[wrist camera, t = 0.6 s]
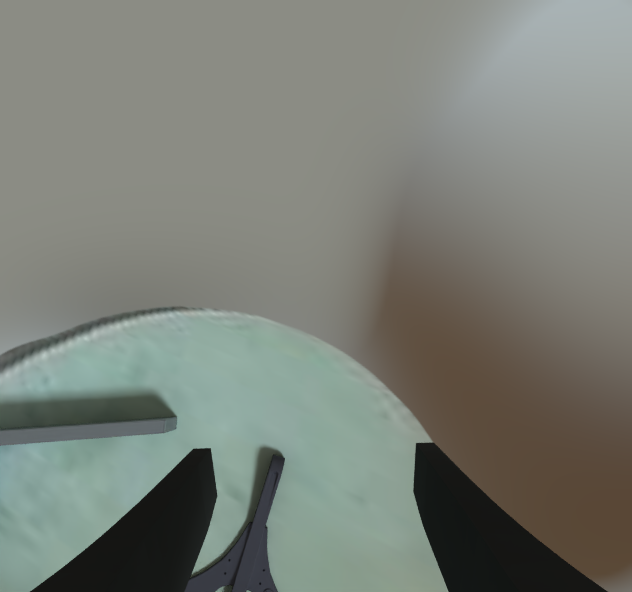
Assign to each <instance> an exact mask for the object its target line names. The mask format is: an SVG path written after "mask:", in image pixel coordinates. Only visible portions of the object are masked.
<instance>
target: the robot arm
mask: <svg viewBox="0 0 632 592" xmlns="http://www.w3.org/2000/svg"><path fill="white" fill-rule="evenodd" d="M413 491H414V495H415V499H416V502H417V506H418V510H419V513H420V517H421V520H422V524H423V527H424V529H425V532H426V535H427V537H428V540H429V542H430V545H431V548H432V550H433V553H434V555H435V558H436V561H437V563H438V566H439V568H440V571H441V573H442V576H443V578H444V581H445V584H446V586H447V589H448V591H449V592H607V591H606V590H604V589H603V588H602V587H600V586H599V585H597V584H596V583H595V582H593V581H592V580H590V579H589V578H587V577H586V576H585V575H583V574H582V573H580V572H579V571H578V570H576V569H575V568H574V567H572V566H571V565H570V564H568V563H567V562H566V561H564V560H563V559H562V558H560V557H559V556H558V555H557V554H556V553H554V552H553V551H552V550H550V549H549V548H548V547H547V546H545V545H544V544H543V543H542V542H540V541H539V540H537V539H536V538H535V537H534V536H533V535H532V534H530V533H529V532H528V531H527V530H525V529H524V528H523V527H522V526H521V525H520V524H518V523H517V522H516V521H515V520H514V519H513V518H512V517H510V516H509V515H508V514H507V513H506V512H505V511H504V510H502V509H501V508H500V507H499V506H498V505H497V504H496V503H495V502H493V501H492V500H491V499H490V498H489V497H488V496H487V495H486V494H485V493H484V492H483V491H482V490H481V489H480V488H479V487H478V486H477V485H475V483H473V482H472V481H471V480H470V479H469V478H468V477H467V476H466V475H465V474H464V473H463V472H462V471H461V470H460V469H459V468H458V467H457V466H456V465H455V464H454V463H453V462H452V461H451V460H450V459H449V458H448V457H447V455H445V453H443V452H442V451H441V450H440V448H439V447H438V446H437V445H436V444H435V443H416V453H415V471H414V490H413ZM216 499H217V490H216V483H215V476H214V469H213V461H212V454H211V448H204V449H193V450H192V451H191V452H190V453H189V454H188V455H187V456H186V457H185V458H184V459H183V460H182V461H181V462H180V463H179V464H178V465H177V466H176V467H175V468H174V469H173V470H172V471H171V472H170V473H169V474H167V475H166V476H165V477H164V478H163V479H162V480H161V481H160V482H159V483H158V484H157V485H156V486H155V487H154V488H153V489H152V490H151V491H150V492H149V493H148V494H147V495H146V496H145V497H144V498H143V499H142V500H141V501H140V502H139V503H138V504H137V505H135V506H134V507H133V508H132V509H131V510H130V511H129V512H128V513H127V514H125V515H124V516H123V517H122V518H121V519H120V520H119V521H118V522H117V523H116V524H114V525H113V526H112V527H111V528H110V529H109V530H108V531H107V532H105V533H104V534H103V535H102V536H101V537H100V538H98V539H97V540H96V541H95V542H94V543H92V544H91V545H90V546H89V547H88V548H86V549H85V550H84V551H83V552H81V553H80V554H79V555H78V556H76V557H75V558H74V559H73V560H71V561H70V562H69V563H68V564H66V565H65V566H64V567H63V568H61V569H60V570H59V571H57V572H56V573H55V574H54V575H52V576H51V577H49V578H48V579H47V580H45V581H44V582H43V583H41V584H40V585H39V586H37V587H36V588H34V589H33V590H32V591H30V592H185V589H186V587H187V584H188V582H189V579H190V576H191V574H192V571H193V569H194V566H195V563H196V561H197V558H198V555H199V553H200V550H201V548H202V545H203V542H204V540H205V537H206V534H207V531H208V528H209V525H210V521H211V518H212V514H213V510H214V506H215V503H216Z"/></svg>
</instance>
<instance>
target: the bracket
mask: <svg viewBox="0 0 632 592" xmlns="http://www.w3.org/2000/svg"><path fill="white" fill-rule="evenodd" d="M284 461H285V458H283V457H280V456H277V455H273V457H272V460H271V464H270V467H269V470H268V474H267V477H266V480H265V483H264V487H263V490H262V493H261V497H260V500H259V503H258V506H257V510H256V513H255V516H254V520H253V522H250V523H249V524H248V526H247V527H246V529H245V531H244V532H243V534H242V535H241V537H240V539H239V540H238V541H237V543H236V544H235V545H234V546H233V548H232V549H231V550H230V551H229V552H228V553H227V554H226V555H225V557H224V558H223V559H221V560H220V561H219V562H217V563H216V564H214V565H213V566H212V567H210V568H209V569H207V570H205V571H204V572H202V573H200V574H198V575H196V576H194V577H192V578H190V579H189V582H188V584H187V587H186V589H185V592H215V591H216V590H217V589H219V588H220V587H222V586H225V585H232V586H233V589H232V592H246V591H247V590H249V591H251V592H278V591H277V589H276V587H275V584H274V582H273V579H272V576H271V574H270V569H269V562H268V555H267V527H265V526H266V522H267V519H268V516H269V512H270V509H271V506H272V503H273V499H274V496H275V493H276V490H277V487H278V484H279V480H280V477H281V474H282V470H283V466H284ZM229 559H230V560H229ZM263 569H264V570H263ZM225 572H226V573H225ZM260 582H261V583H260Z"/></svg>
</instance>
